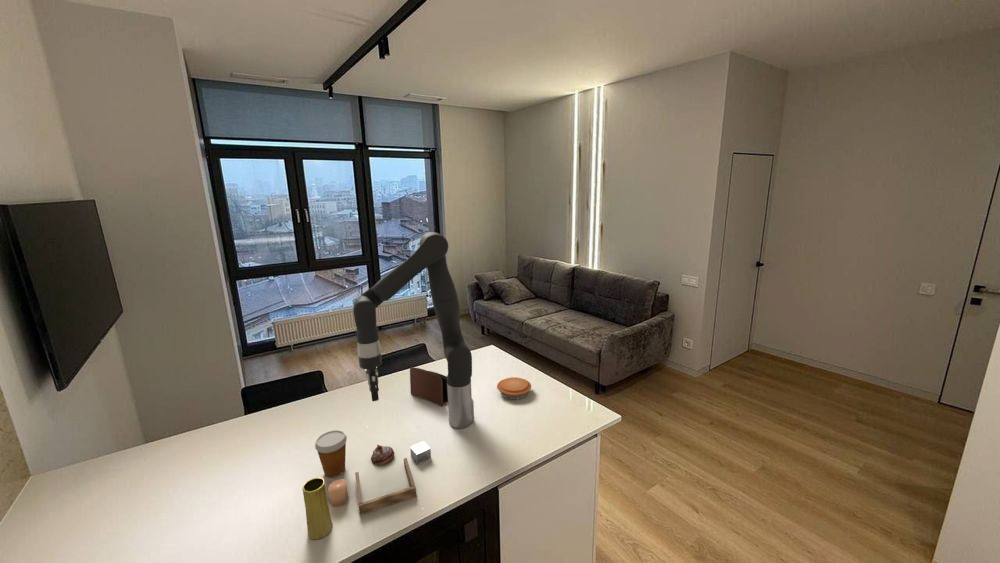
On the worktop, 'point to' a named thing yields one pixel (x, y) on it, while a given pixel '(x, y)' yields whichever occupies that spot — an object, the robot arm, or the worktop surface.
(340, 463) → the disposable coffee cup
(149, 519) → the worktop surface
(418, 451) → the gray block
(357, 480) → the display bay
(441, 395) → the letter holder
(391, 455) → the pastry
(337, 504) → the peach rounded blob
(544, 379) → the worktop surface
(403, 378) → the worktop surface
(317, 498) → the vase
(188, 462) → the worktop surface
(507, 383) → the pie
